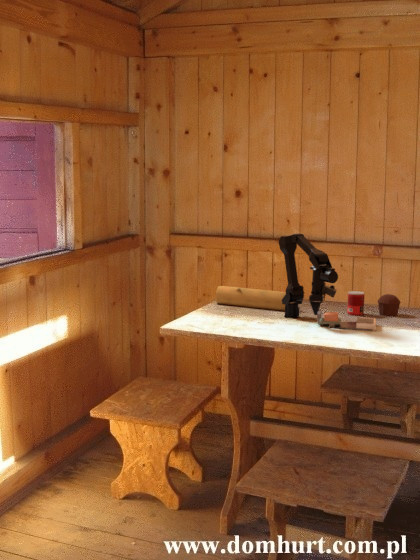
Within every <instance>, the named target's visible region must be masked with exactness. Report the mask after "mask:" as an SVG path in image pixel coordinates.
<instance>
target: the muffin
mask: <svg viewBox="0 0 420 560" xmlns="http://www.w3.org/2000/svg"><path fill="white" fill-rule="evenodd" d="M377 304H378V310H379V315H380V316H383V317H397V316H398V314H399V309H400V304H401V301H400V299H399V298H398V296H396V295H394V294H391V293H390V294H389V293H388V294H383V295H381V296H380V297H379V298H378V299H377Z"/></svg>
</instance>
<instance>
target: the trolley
mask: <svg viewBox="0 0 420 560" xmlns="http://www.w3.org/2000/svg"><path fill="white" fill-rule="evenodd" d="M322 315H323V316H324V317H322ZM316 319H317V320H316V322H317V325H319V326H320V327H322V326H324V325H329V324H334V325H335V326H338V325H339V324H340V322H342V321H341V320H342V318H341V317H339V312H337V311H336V312H333V311H331V312H329V311H326V312H325V313H324V314H323V313H322V309H319V311H318V313H317V315H316Z"/></svg>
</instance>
